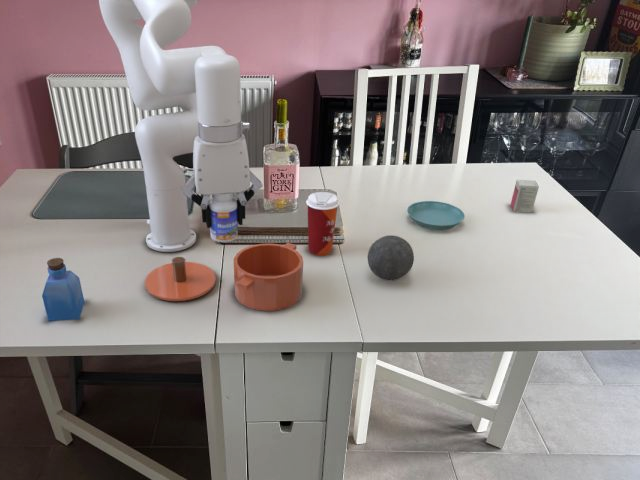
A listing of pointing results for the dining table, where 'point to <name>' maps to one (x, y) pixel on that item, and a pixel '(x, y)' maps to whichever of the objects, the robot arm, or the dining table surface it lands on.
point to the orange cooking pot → (268, 276)
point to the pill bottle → (223, 217)
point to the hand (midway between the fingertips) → (223, 222)
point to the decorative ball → (390, 257)
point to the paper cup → (321, 222)
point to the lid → (180, 280)
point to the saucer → (435, 215)
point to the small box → (524, 195)
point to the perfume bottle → (62, 293)
